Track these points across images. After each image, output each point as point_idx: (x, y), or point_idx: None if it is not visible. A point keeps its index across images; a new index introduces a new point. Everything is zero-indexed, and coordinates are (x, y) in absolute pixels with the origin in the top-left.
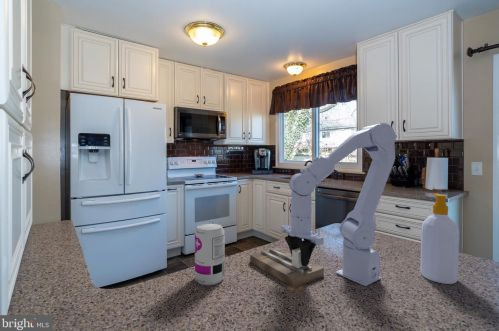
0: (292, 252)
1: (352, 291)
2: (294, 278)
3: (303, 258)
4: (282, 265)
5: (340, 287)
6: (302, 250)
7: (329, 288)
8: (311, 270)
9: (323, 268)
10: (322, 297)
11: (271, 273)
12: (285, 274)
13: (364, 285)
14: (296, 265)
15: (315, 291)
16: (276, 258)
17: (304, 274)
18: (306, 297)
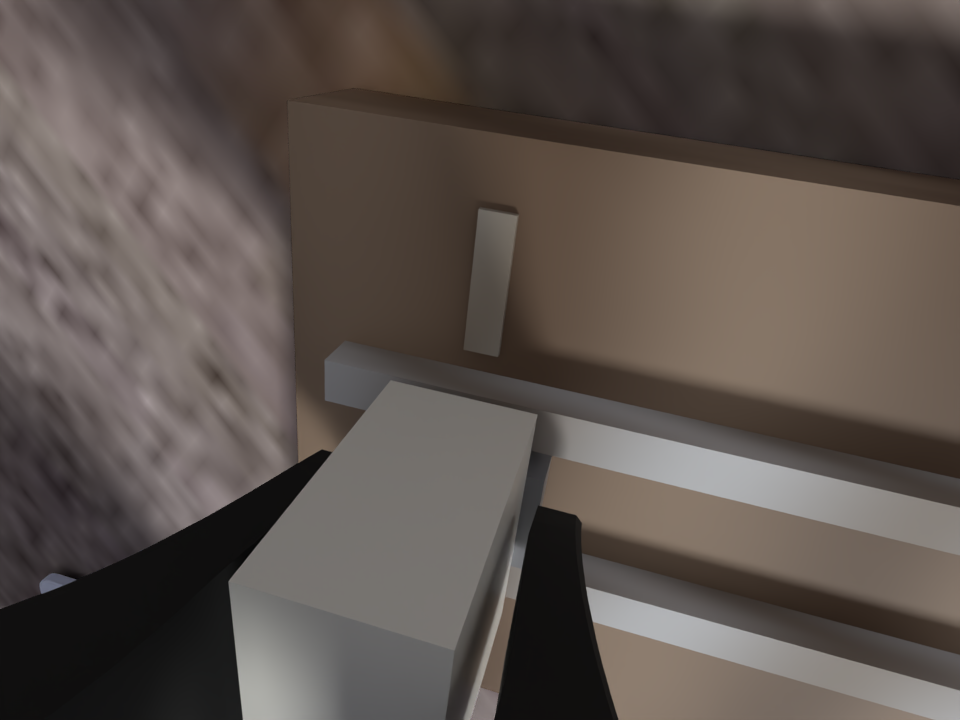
0: (458, 595)
1: (40, 452)
2: (297, 123)
3: (209, 518)
4: (762, 392)
5: (125, 455)
6: (37, 635)
7: (153, 378)
8: None
9: None
10: (55, 168)
11: (893, 175)
12: (496, 134)
13: (52, 574)
14: (415, 407)
15: (171, 225)
16: None
17: (306, 347)
18: (119, 17)
